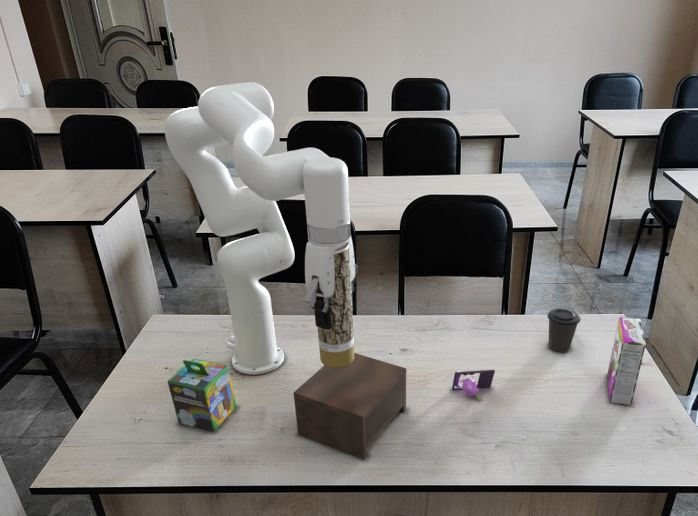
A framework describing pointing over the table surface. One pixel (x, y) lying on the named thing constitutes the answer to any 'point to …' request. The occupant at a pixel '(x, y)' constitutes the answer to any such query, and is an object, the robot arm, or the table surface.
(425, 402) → the table surface
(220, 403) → the chalk box
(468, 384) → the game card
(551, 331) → the coffee cup
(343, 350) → the paper tube
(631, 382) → the candy bar box
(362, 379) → the walnut storage box
